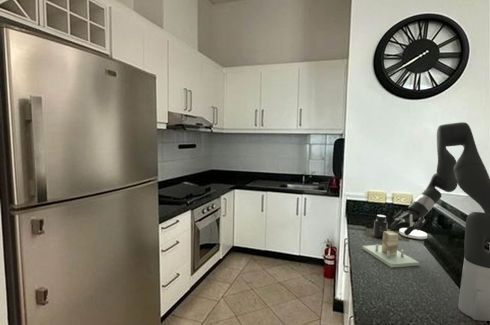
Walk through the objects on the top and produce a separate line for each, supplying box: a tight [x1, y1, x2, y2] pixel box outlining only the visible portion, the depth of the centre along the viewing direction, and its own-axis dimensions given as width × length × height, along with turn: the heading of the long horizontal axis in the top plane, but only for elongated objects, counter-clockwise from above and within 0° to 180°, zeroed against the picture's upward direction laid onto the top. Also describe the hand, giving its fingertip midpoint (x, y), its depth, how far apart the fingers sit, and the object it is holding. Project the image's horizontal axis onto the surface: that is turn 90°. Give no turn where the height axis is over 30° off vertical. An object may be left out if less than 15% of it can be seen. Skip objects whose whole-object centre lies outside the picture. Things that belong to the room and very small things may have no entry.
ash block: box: [381, 230, 400, 256], centre depth 135 cm, size 4×4×10 cm
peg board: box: [362, 244, 420, 268], centre depth 135 cm, size 20×14×4 cm
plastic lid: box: [398, 227, 428, 240], centre depth 165 cm, size 14×14×2 cm
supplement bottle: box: [372, 214, 389, 239], centre depth 161 cm, size 7×7×12 cm
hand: (398, 230), depth 135 cm, fingers open, 8 cm apart
